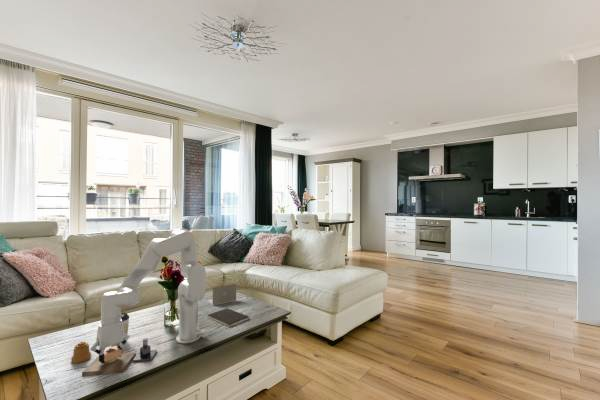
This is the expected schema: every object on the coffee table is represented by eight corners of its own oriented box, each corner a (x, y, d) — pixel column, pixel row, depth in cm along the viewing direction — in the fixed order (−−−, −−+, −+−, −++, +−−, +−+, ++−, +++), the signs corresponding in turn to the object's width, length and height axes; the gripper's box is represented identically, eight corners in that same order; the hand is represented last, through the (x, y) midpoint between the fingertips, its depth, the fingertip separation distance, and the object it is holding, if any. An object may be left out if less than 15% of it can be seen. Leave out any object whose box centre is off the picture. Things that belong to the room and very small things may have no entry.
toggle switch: (135, 355, 139) (135, 340, 139) (122, 372, 125) (122, 355, 125) (99, 358, 137) (99, 342, 137) (81, 375, 123) (82, 358, 123)
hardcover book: (228, 328, 171) (228, 324, 171) (207, 318, 186) (207, 314, 186) (249, 319, 183) (249, 316, 183) (227, 311, 198) (227, 307, 198)
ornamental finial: (67, 362, 133) (84, 354, 140) (77, 365, 131) (94, 357, 138) (67, 344, 133) (84, 337, 140) (78, 347, 131) (94, 340, 138)
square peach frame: (115, 351, 135) (115, 345, 135) (121, 355, 132) (121, 350, 132) (99, 357, 130) (100, 351, 130) (105, 361, 126) (105, 356, 126)
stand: (156, 352, 142) (157, 334, 142) (151, 360, 134) (151, 342, 134) (139, 353, 141) (139, 335, 141) (132, 362, 133) (132, 343, 133)
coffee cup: (106, 348, 146) (106, 318, 146) (112, 339, 155) (112, 312, 155) (126, 345, 149) (126, 316, 149) (131, 337, 157) (131, 310, 157)
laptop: (229, 296, 228) (229, 280, 228) (236, 301, 218) (236, 283, 218) (207, 301, 217) (207, 283, 217) (212, 305, 207) (212, 287, 207)
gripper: (127, 311, 140) (127, 348, 140) (85, 323, 126) (85, 365, 126) (134, 315, 136) (134, 353, 136) (91, 328, 122) (91, 371, 122)
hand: (110, 358), depth 131 cm, fingers closed on square peach frame, 6 cm apart
